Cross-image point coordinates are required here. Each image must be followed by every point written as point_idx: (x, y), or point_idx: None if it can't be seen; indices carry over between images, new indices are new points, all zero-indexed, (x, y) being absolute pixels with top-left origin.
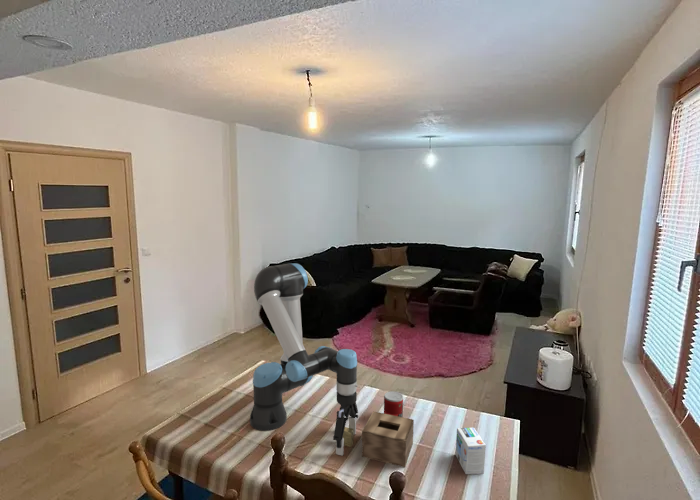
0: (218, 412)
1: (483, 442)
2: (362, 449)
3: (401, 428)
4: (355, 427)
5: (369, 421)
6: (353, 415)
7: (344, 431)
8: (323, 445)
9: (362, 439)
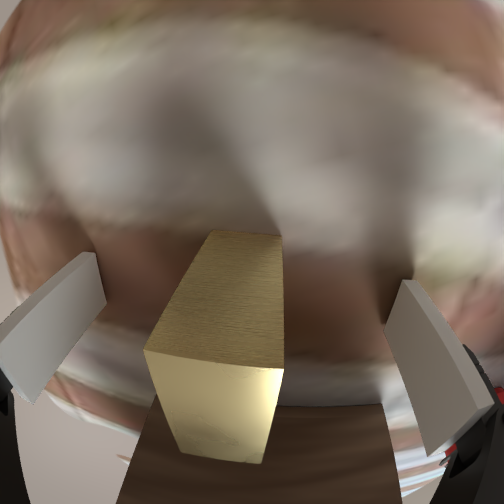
0: None
1: None
2: (145, 427)
3: None
4: (408, 377)
5: None
6: (440, 496)
7: (165, 407)
8: (140, 91)
9: (125, 482)
